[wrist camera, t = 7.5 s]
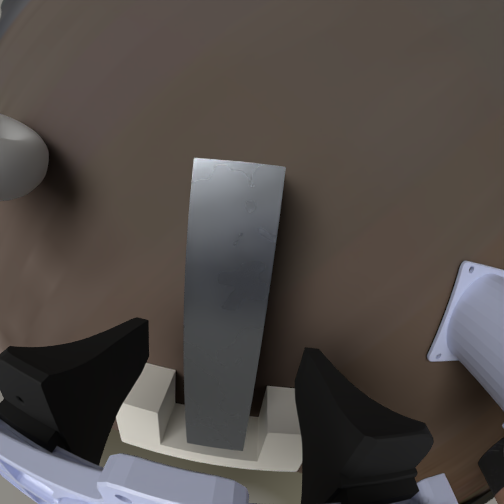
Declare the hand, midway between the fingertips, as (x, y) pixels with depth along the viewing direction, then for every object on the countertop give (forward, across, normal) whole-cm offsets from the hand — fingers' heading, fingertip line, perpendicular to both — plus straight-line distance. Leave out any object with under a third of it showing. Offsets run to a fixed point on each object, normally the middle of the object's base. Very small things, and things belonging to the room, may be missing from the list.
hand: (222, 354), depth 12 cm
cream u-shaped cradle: (+5, 0, +8) cm, 9 cm away
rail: (+5, 0, 0) cm, 5 cm away
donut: (+5, +16, -8) cm, 19 cm away
